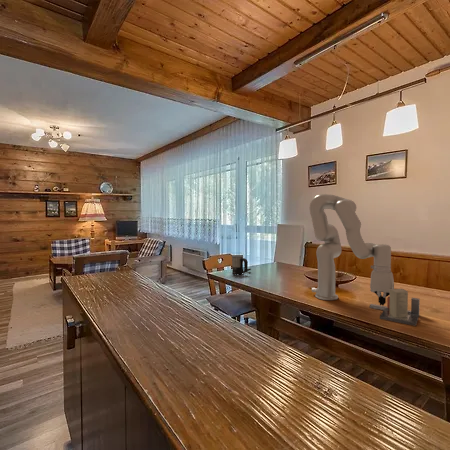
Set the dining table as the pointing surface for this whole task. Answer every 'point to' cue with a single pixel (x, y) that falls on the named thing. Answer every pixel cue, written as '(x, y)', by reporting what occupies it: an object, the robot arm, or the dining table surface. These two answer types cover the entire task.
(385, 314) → the plate
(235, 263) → the milk frother
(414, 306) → the rail
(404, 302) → the skincare box
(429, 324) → the dining table surface
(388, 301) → the capped bottle
